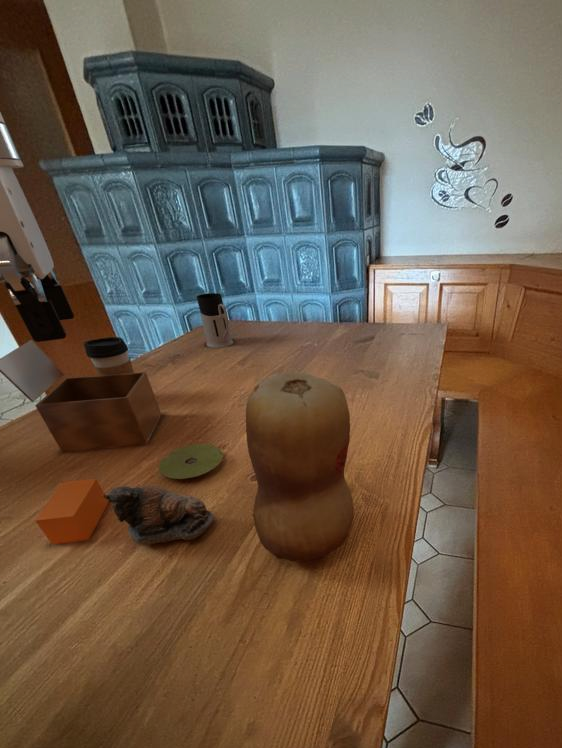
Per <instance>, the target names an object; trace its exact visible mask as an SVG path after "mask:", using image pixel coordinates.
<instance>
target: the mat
mask: <svg viewBox="0 0 562 748" xmlns="http://www.w3.org/2000/svg"><path fill="white" fill-rule="evenodd" d="M223 458H224V454H223V451H222V450H221V449H220V448H219V447H217V446H216V445H214V444H213V445H212V444H208V443H195V444H190V445H185V446H181V447H178V448H177V449H174V450H172V451H171V452H169V453H167V454H166V455H165V456H164V457H162V459H161V460H160V462H159V463H158V471H159V473H160V474H161V475H162V476H164V477H167V478H170V479H175V480H176V479H178V480H183V479H189V478H195V477H200V476H202V475H205V474H207V473H209V472H210V471H212V470H214V469H215V468H217V467H218V466H219V465H220V464H221V462H222V460H223Z"/></svg>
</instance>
